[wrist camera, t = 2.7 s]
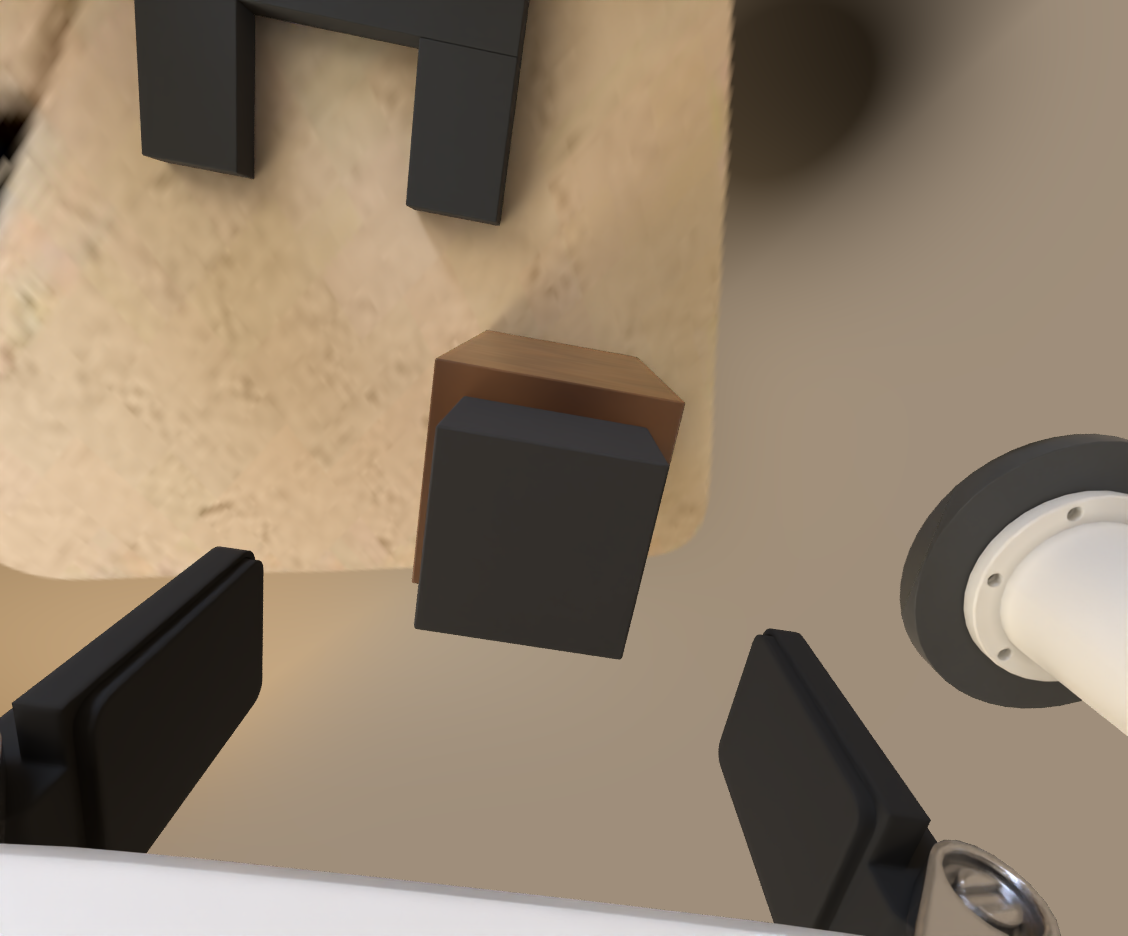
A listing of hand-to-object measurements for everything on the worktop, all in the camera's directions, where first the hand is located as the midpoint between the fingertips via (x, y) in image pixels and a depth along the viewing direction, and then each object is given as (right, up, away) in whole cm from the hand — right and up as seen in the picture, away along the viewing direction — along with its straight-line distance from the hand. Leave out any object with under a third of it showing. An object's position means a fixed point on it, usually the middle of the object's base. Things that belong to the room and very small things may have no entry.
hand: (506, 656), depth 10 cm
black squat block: (0, +3, +8) cm, 9 cm away
